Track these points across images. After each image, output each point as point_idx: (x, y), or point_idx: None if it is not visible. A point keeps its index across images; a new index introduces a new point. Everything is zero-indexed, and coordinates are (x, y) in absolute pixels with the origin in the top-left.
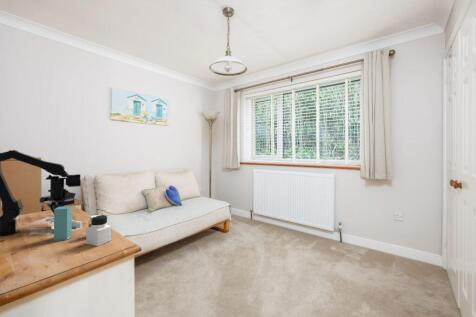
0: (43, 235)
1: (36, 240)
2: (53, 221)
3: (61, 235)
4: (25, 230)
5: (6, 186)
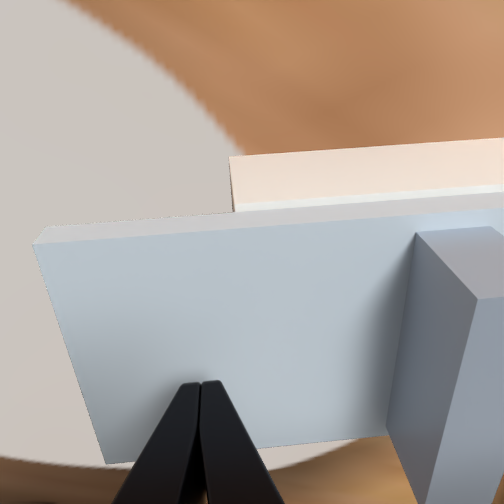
0: (386, 443)
1: None
2: (316, 432)
3: None
4: (38, 468)
5: None
